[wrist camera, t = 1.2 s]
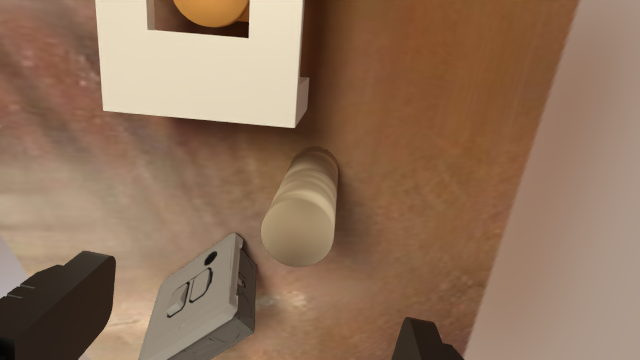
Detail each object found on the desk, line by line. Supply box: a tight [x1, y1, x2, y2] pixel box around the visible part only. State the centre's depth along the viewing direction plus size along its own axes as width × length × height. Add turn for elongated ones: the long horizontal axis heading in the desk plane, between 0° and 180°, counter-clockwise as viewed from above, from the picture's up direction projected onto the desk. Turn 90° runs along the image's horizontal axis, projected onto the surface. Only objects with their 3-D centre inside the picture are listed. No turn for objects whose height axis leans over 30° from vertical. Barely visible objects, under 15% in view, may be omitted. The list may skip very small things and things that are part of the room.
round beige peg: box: [261, 147, 338, 267], centre depth 29 cm, size 4×4×13 cm
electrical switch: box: [138, 233, 256, 360], centre depth 35 cm, size 9×5×9 cm, turn 127°
